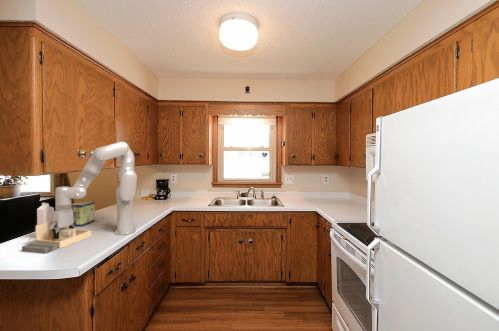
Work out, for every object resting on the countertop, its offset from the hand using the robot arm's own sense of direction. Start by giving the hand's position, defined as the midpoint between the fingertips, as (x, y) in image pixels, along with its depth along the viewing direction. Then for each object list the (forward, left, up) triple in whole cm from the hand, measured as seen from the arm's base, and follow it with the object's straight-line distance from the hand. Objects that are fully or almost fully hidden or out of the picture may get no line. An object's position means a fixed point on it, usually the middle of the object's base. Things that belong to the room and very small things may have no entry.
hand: (63, 236), depth 151 cm
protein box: (-36, -23, -4) cm, 43 cm away
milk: (-2, -15, -3) cm, 16 cm away
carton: (0, +1, -3) cm, 3 cm away
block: (0, +1, -3) cm, 3 cm away
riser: (+15, +1, -3) cm, 15 cm away
